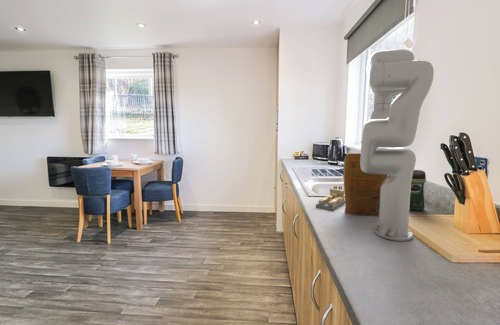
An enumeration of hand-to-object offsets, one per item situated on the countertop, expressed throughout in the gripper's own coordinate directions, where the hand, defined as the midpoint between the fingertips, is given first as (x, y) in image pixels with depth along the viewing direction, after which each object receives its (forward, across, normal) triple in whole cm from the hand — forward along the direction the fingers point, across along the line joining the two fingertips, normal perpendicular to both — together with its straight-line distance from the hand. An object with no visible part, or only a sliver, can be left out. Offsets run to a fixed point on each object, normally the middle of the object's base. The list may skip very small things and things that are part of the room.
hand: (380, 146), depth 127 cm
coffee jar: (+29, -14, -3) cm, 33 cm away
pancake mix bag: (+29, +1, +18) cm, 34 cm away
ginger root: (+28, +19, +13) cm, 36 cm away
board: (+29, +18, +11) cm, 36 cm away
